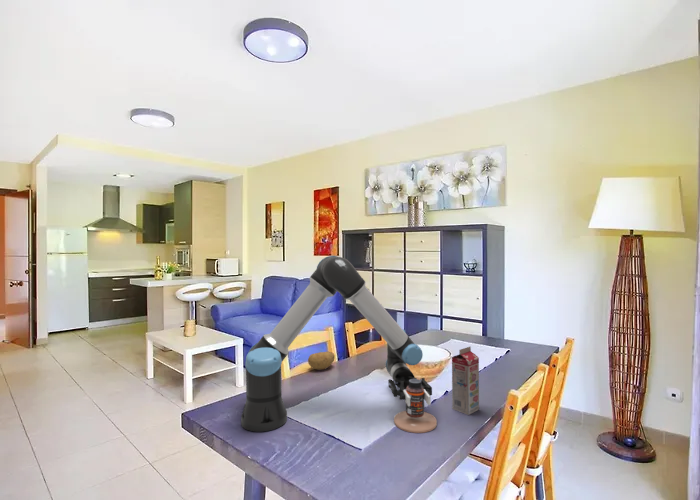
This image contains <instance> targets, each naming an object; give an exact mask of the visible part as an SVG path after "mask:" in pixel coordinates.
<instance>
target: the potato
mask: <svg viewBox="0 0 700 500" xmlns="http://www.w3.org/2000/svg"><path fill="white" fill-rule="evenodd" d="M335 358H336V357H335V354H334V353H333V352H331V351H321V352H316V353H312V354H310V355H309V356H308V358H307V362H308V365H309V366H310V367H311V368H312V369H315V370H317V371H318V370H319V371H321V370H322V371H323V370H326V369H327V368H329V367H330V366H331V365H332V364H333V362H334V361H335Z"/></svg>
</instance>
